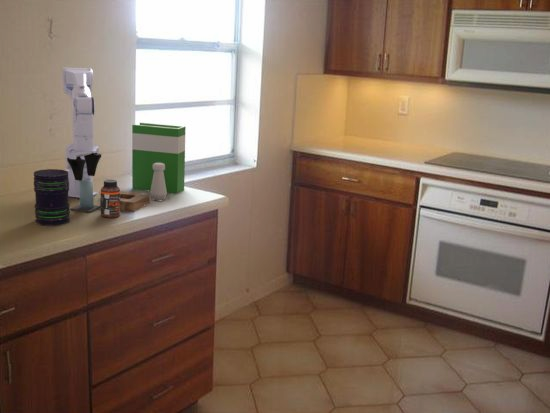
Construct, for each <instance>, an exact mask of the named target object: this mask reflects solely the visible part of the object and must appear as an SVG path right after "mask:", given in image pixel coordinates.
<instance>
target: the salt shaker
mask: <svg viewBox="0 0 550 413" xmlns="http://www.w3.org/2000/svg"><path fill="white" fill-rule="evenodd" d="M153 170H154V175H153V180H152V185H151V191H149V193H150V194H149V195H150V197H151V199H152V200H153V201H155V200H156V202H161V200H162V201H165V198H166V197H167V194H168V193H167V191H166V185H165V178H164V172H163V170H165V164H164V163H154V164H153Z"/></svg>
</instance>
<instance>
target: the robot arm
mask: <svg viewBox="0 0 550 413" xmlns="http://www.w3.org/2000/svg"><path fill="white" fill-rule="evenodd" d="M61 70H62V71H61V72H62V73H61V76H62V78H61V80H62V88H63V93H64V94H66V95H68V96H69V99H70V102H71V116H72V117H71V118H72V119H71V121H72V139H73V141H72V142H71V143H70V144H68V145H67V146H66V148H65V168H66V169H65V171H68V177H69V191H68V198H70V197H71V198H79V199H80V190H79V181H82V179H92V180H93V178H92V177H95V175H96V172H97V167H98V164H99V162H100V160H101V158H102V153H99V152H100V146H96V145H95V138H94V136H95V134H94V130H95V128H94V116H95V113H96V102H95V101H96V100H95V98H94V96H92V91H93V84H94V72H93V69H92V68H91V67H88V68H84V67H66V66H63V67H62V68H61ZM97 194H98V192H95V191H93V196H96V195H97Z"/></svg>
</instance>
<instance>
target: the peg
mask: <svg viewBox="0 0 550 413" xmlns="http://www.w3.org/2000/svg"><path fill="white" fill-rule="evenodd" d="M79 190H80V198H79V205H80V208H81V209H92V208H94V195H93V192H94V180H93V178H92V179H82V181H79Z"/></svg>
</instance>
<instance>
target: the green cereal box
mask: <svg viewBox="0 0 550 413" xmlns="http://www.w3.org/2000/svg"><path fill="white" fill-rule="evenodd" d="M131 126H132V127H131V129H132V130H131V133H132V134H131V135H132V136H131V137H132V140H131V141H132V142H131V144H132V145H131V147H132V148H131V149H132V150H131V152H132V155H131V156H132V157H131V159H132V162H131V164H132V165H131V169H132V171H131V175H132V180H131V181H132V183H131V184H132V186H131V187H132V188H131V190H136V191H137V190H138V191H144V190H149V191H148V192H150V191H151V185H152V180H153V175H154V170H153V164H154V163H164V164H165V170H163V172H164V178H165V185H166V191H167V194H172V193H173V194H172V195H178V194H180V193H181V192H183V191H184V190H185V175H186V174H185V173H186V172H185V170H186V169H185V167H186V162H185V161H186V126H182V125H174V124H163V123H162V124H161V123H150V122H149V123H148V122H139V124H132V125H131Z"/></svg>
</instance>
